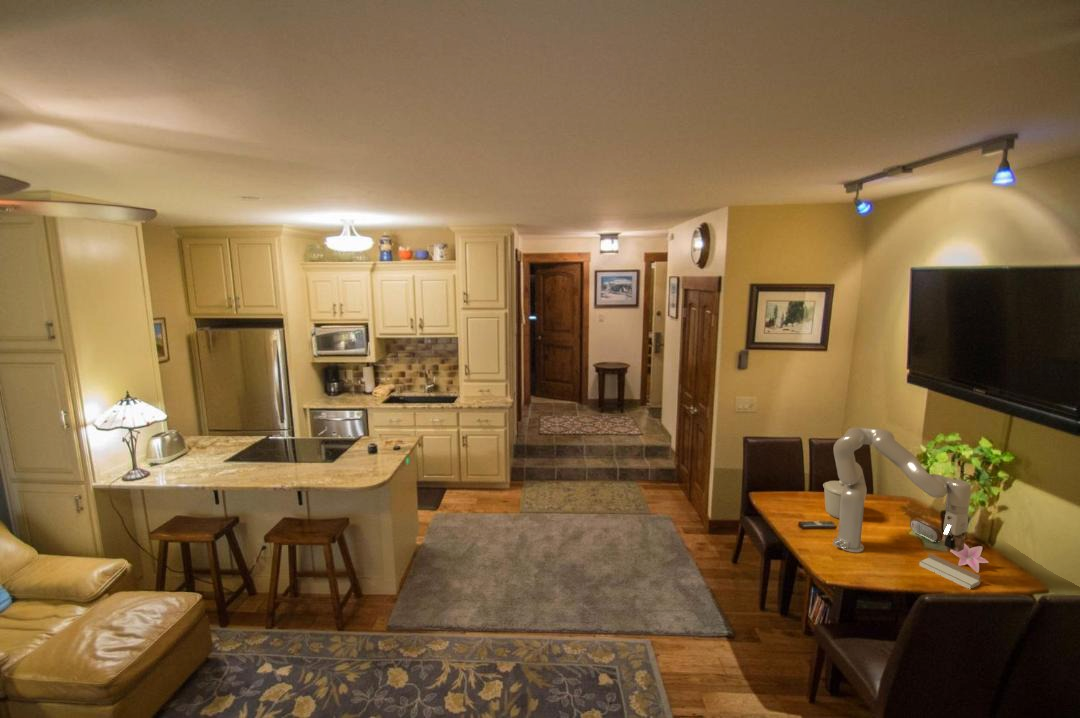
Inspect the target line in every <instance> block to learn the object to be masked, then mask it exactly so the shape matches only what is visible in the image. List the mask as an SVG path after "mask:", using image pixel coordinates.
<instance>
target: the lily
mask: <svg viewBox="0 0 1080 718" xmlns="http://www.w3.org/2000/svg"><path fill="white" fill-rule="evenodd" d="M949 551H950V553H952V554H953V555H955V556H956V557H958V558H959V561H958V562H957V564H958V565H957V566H960V567H962V566H965V565H968V566H969V567H970V568H971V569H972V570H973V571H974V572H976V573H979V571H980V563H981V564H986V563H987V564H988V563H989V561H988V560H987V559H986V558H984V557H982V556H981V554H982V551H983V546H981V545H978V546H974V547H971V548H970V547H969V546H968V545H967V544H966V543H964V549H963V550H961V551H959V552H957V551H954V550H952V549H950V550H949Z"/></svg>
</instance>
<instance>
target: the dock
mask: <svg viewBox="0 0 1080 718" xmlns="http://www.w3.org/2000/svg"><path fill="white" fill-rule="evenodd" d="M918 565H919V567H921V568H924V569H926V570H928V571H930V572H932V573H934V572H935V574H936V575H938V576H940V575H941V576H940V577H943V578H945V579H947V580H948V581H951V582H954V583H955V584H957V585H959V586H962V587H964V588H966V589H968V588H969V589H968V590H972V589H973V588H974V589H975V587H978V586H980V584H981V580H982V576H981V575H980V574H977V573H975V572H973V571H971V570H968V569H966V568H964V567H962V566H959V565H957V564H955V563H952V562H950V561H948V560H947V559H944V558H941V557H939V556H938V555H936V554H933V553H928V557H927V558H925V559H922V560H920V561H919V564H918ZM971 588H972V589H971Z"/></svg>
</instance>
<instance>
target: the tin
mask: <svg viewBox="0 0 1080 718" xmlns="http://www.w3.org/2000/svg"><path fill="white" fill-rule="evenodd" d="M909 526H910V529H911V530H912V532H913V533H914V532H915V533H914V534H916V533H919V534H922V535H924V536H926V537H928V538H930V539H932V540H934V541H936V542H935V543H939V542H938V541H940V542H942V539H943V533H942V531H941V529H939V528H938V527H937V526H936V525H934V524H932V523H930V522H928V521H926V520H924V519H921V518H919V517H918V518H917V517H916V518H913V519H910V521H909Z"/></svg>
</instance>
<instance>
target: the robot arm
mask: <svg viewBox="0 0 1080 718" xmlns="http://www.w3.org/2000/svg"><path fill="white" fill-rule="evenodd" d="M863 445H869V446H872V447H873V448H874V449H875V450H876V451H878V452H879V453H880V454H881V455H883V456H884V457H885V458H886V459H887V460H889V461H890V462H892V463H893V465H895V466H896V467H897V468H899V469H900V471H901V472H902V473H903V474H904V475H905V476H906V477H907V478H908V479H909V480H910V481H911V482H912V483H913V484H914V485H915V486H916V487H917V488H919V489H920V490H921V491H923V492H924V493H925V494H927V495H928V496H930V497H932V498H936V499H937V498H938V499H940V498H944V497H946V499H945V510H946V511H945V514H944V515H945V516H944V520H943V533H944V535H945V546H947V547H949V548H948V549H950V548H951V549H950V550H952V549H954V544H955V541H954V537H955V536H957V535H962V536H963V534H964V533H966V532H968V529H969V510H970V509H969V508H970V500H971V490H972V486H971V484H970V483H969V482H967V481H965V480H962V479H954V478H951V477H947V476H944V475H940V474H935V473H933V474H930V473H929V472H927V470H926V469H925V468H923V466H922V465H921V464H920V461H919V460H918V459H917V457H916V456H915V455H914V453H912V452H911V451H910V450H909V449H907V448H906V447H904V446H902V444H901V443H899V442H898V441H896V439H895V436H894V434H893V433H892V432H891V431H889V430H887V429H880V428H871V427H870V428H869V427H860V426H859V427H858V426H857V427H856V426H855V427H851V428H848V429H847V430H846V432H845V433H844V435H843V436H842V437H840V438H838V439H837V440H836V441H835V443H834V444H833V448H832V449H833V456H834V457H833V458H834V461H835V467H836V471H837V472H836V473H837V476H838V477H837V478H838V479H839V480H840V481H841V482H842V483H844V489H843V491H842V494H841V506H840V519H839V521H838V533H837V535H838V536H837V537H835V538H834V540H833V541H832V545H833V546H835V547H838V548H839V549H841V550H842V551H846V552H849V553H862V552H863V551H865V550H864V549H865V545H863V544H862V543H861V542H862V541H861V540H862V533H863V532H862V531H863V522H864V521H863V520H864V510H865V509H864V507H865V506H864V505H865V500H866V496H867V494H868V493H867V491H868V490H867V486H866V485H867V484H866V480H865V476H864V471H863V469H862V466H861V465H860V464H859V463H858V462H857V461H856V456H855V451H857V450H859V449H860V448H861V447H863ZM950 531H951V532H952V533H951V532H950ZM949 534H952V537H951V535H949ZM945 546H944V547H945ZM947 547H946V548H947Z"/></svg>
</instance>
